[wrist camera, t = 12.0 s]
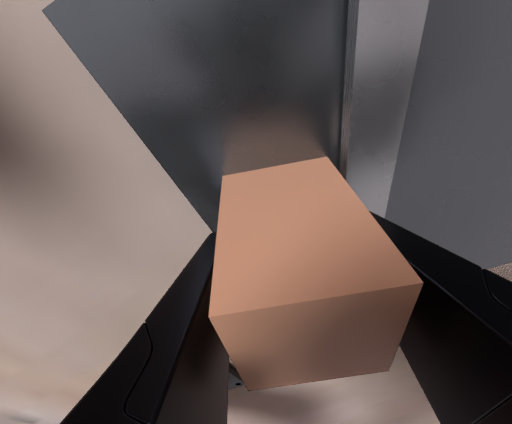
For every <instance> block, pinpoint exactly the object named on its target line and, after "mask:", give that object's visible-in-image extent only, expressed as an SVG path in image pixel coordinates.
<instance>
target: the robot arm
mask: <svg viewBox="0 0 512 424" xmlns="http://www.w3.org/2000/svg"><path fill="white" fill-rule="evenodd" d="M368 211H369V210H368ZM369 212H370V213H371V215H372V216H373V217H374V219H375V220H376V221H377V222H378V224H379V225H380V226H381V228H382V229H383V230H384V232H385V233H386V234H387V236H388V237H389V238H390V239H391V241H392V242H393V243H394V245H395V246H396V247H397V249H398V250H399V251H400V253H401V254H402V255H403V256H404V258H405V259H406V260H407V262H408V263H409V264H410V266H411V267H412V268H413V270H414V271H415V272H416V274H417V275H418V276H419V277H420V279H421V280H422V281H423V286H422V288H421V291H420V293H419V296H418V298H417V301H416V303H415V306H414V308H413V311H412V313H411V316H410V318H409V321H408V324H407V326H406V329H405V331H404V334H403V336H402V339H401V341H400V344H399V345H400V347H401V349H402V351H403V353H404V355H405V357H406V359H407V361H408V363H409V364H410V366H411V368H412V370H413V372H414V374H415V376H416V378H417V380H418V382H419V384H420V385H421V387H422V389H423V391H424V393H425V395H426V397H427V399H428V401H429V403H430V404H431V406H432V408H433V410H434V412H435V414H436V416H437V418H438V420H439V422H440V424H512V282H511V281H509V280H507V279H505V278H503V277H501V276H499V275H497V274H495V273H493V272H491V271H489V270H487V269H482V267H480V266H479V265H477V264H475V263H473V262H471V261H469V260H467V259H465V258H463V257H461V256H459V255H457V254H455V253H453V252H451V251H449V250H447V249H445V248H443V247H441V246H439V245H437V244H435V243H433V242H431V241H429V240H427V239H425V238H423V237H421V236H419V235H417V234H415V233H413V232H411V231H409V230H407V229H405V228H403V227H401V226H399V225H397V224H395V223H393V222H391V221H389V220H387V219H385V218H383V217H381V216H379V215H377V214H375V213H373V212H371V211H369ZM216 236H217V232H214V233H211V234H210V235H209V236H208V237H207V239H206V240H205V241H204V243H203V244H202V245H201V247H200V248H199V249H198V251H197V252H196V253H195V255H194V256H193V257H192V259H191V260H190V261H189V263H188V264H187V265H186V267H185V268H184V269H183V271H182V272H181V273H180V275H179V276H178V277H177V279H176V280H175V281H174V283H173V284H172V285H171V287H170V288H169V289H168V291H167V292H166V293H165V295H164V296H163V297H162V299H161V300H160V301H159V303H158V304H157V305H156V307H155V308H154V309H153V311H152V312H151V313H150V315H149V316H148V317H147V319H146V320H145V322H146V323H143V324H142V325H141V327H140V328H139V329H138V331H137V332H136V333H135V335H134V336H133V337H132V338H131V340H130V341H129V342H128V344H127V345H126V346H125V347H124V349H123V350H122V351H121V353H120V354H119V355H118V356H117V358H116V359H115V360H114V361H113V362H112V363H111V365H110V366H109V367H108V368H107V369H106V371H105V372H104V373H103V374H102V375H101V377H100V378H99V379H98V380H97V381H96V382H95V384H94V385H93V386H92V387H91V388H90V389H89V390H88V392H87V393H86V394H85V395H84V396H83V397H82V399H81V400H80V401H79V402H78V403H77V404H76V405H75V407H74V408H73V409H72V410H71V411H70V412H69V414H68V415H67V416H66V417H65V418H64V419H63V420H62V422H61V423H60V424H227V407H228V389H232V388H236V387H240V386H243V385H244V382H243V380H242V379H241V377H240V375H239V373H237V372H236V371H235V370H233V369H232V368H231V367H229V354H228V353H227V351H226V349H225V347H224V345H223V343H222V341H221V339H220V338H219V336H218V334H217V332H216V330H215V328H214V326H213V325H212V323H211V321H210V319H209V317H208V316H209V306H210V296H211V286H212V276H213V266H214V256H215V246H216Z"/></svg>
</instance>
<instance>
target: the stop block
mask: <svg viewBox="0 0 512 424" xmlns="http://www.w3.org/2000/svg"><path fill="white" fill-rule="evenodd" d="M422 286H423V281H422V280H421V279H420V277H419V276H418V275H417V274H416V272H415V271H414V270H413V268H412V267H411V266H410V264H409V263H408V262H407V260H406V259H405V258H404V256H403V255H402V254H401V253H400V251H399V250H398V249H397V247H396V246H395V245H394V243H393V242H392V241H391V239H390V238H389V237H388V236H387V234H386V233H385V232H384V230H383V229H382V228H381V226H380V225H379V224H378V222H377V221H376V220H375V219H374V217H373V216H372V215H371V213H370V212H369V211H368V209H367V208H366V207H365V205H364V204H363V203H362V201H361V200H360V199H359V198H358V196H357V195H356V194H355V192H354V191H353V190H352V188H351V187H350V186H349V184H348V183H347V182H346V181H345V179H344V178H343V177H342V175H341V174H340V173H339V171H338V170H337V169H336V167H335V166H334V165H333V164H332V162H331V161H330V160H329V158H328V157H321V158H316V159H311V160H305V161H300V162H295V163H289V164H284V165H279V166H273V167H268V168H263V169H257V170H252V171H247V172H241V173H236V174H230V175H225V176H222V186H221V196H220V206H219V216H218V226H217V236H216V246H215V256H214V266H213V276H212V286H211V296H210V306H209V316H208V317H209V319H210V321H211V323H212V325H213V326H214V328H215V330H216V332H217V334H218V336H219V338H220V339H221V341H222V343H223V345H224V347H225V349H226V351H227V353H228V354H229V356H230V358H231V360H232V362H233V364H234V366H235V367H236V369H237V371H238V373H239V375H240V377H241V379H242V380H243V382H244V384H245V386H246V388H247V390H248V391H252V390H259V389H266V388H273V387H280V386H287V385H294V384H301V383H308V382H315V381H322V380H329V379H336V378H343V377H350V376H357V375H364V374H371V373H378V372H385V371H389V369H390V367H391V364H392V362H393V359H394V357H395V354H396V351H397V349H398V346H399V344H400V341H401V339H402V336H403V334H404V331H405V329H406V326H407V324H408V321H409V318H410V316H411V313H412V311H413V308H414V306H415V303H416V301H417V298H418V296H419V293H420V291H421V288H422Z"/></svg>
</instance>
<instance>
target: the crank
mask: <svg viewBox="0 0 512 424" xmlns="http://www.w3.org/2000/svg"><path fill="white" fill-rule="evenodd" d="M428 4H429V0H349V3H348V21H347V39H346V58H345V76H344V94H343V112H342V131H341V149H340V167H339V173H340V174H341V175H342V177H343V178H344V179H345V181H346V182H347V183H348V184H349V186H350V187H351V188H352V190H353V191H354V192H355V194H356V195H357V196H358V198H359V199H360V200H361V201H362V203H363V204H364V205H365V207H366V208H367V209H368V210H369V211H371V212H373V213H375V214H377V215H379V216H381V217H383V218H385V213H386V208H387V203H388V199H389V194H390V189H391V184H392V179H393V174H394V169H395V165H396V160H397V155H398V150H399V145H400V140H401V135H402V131H403V126H404V121H405V116H406V111H407V106H408V101H409V97H410V92H411V87H412V82H413V77H414V72H415V67H416V63H417V58H418V53H419V48H420V43H421V38H422V33H423V29H424V24H425V19H426V14H427V9H428Z"/></svg>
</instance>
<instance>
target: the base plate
mask: <svg viewBox="0 0 512 424" xmlns="http://www.w3.org/2000/svg"><path fill="white" fill-rule="evenodd" d="M348 3H349V0H55V1H54V2H52V3H51V4H50V5H48V6H47V7H46V8H44V9H43V10H42V12H43V13H44V14H45V16H46V17H47V18H48V19H49V21H50V22H51V23H52V25H53V26H54V27H55V28H56V30H57V31H58V32H59V34H60V35H61V36H62V38H63V39H64V40H65V41H66V43H67V44H68V45H69V47H70V48H71V49H72V50H73V52H74V53H75V54H76V56H77V57H78V58H79V60H80V61H81V62H82V63H83V65H84V66H85V67H86V69H87V70H88V71H89V73H90V74H91V75H92V76H93V78H94V79H95V80H96V82H97V83H98V84H99V85H100V87H101V88H102V89H103V91H104V92H105V93H106V95H107V96H108V97H109V98H110V100H111V101H112V102H113V104H114V105H115V106H116V107H117V109H118V110H119V111H120V113H121V114H122V115H123V117H124V118H125V119H126V120H127V122H128V123H129V124H130V126H131V127H132V128H133V129H134V131H135V132H136V133H137V135H138V136H139V137H140V139H141V140H142V141H143V142H144V144H145V145H146V146H147V148H148V149H149V150H150V151H151V153H152V154H153V155H154V157H155V158H156V159H157V161H158V162H159V163H160V164H161V166H162V167H163V168H164V170H165V171H166V172H167V174H168V175H169V176H170V177H171V179H172V180H173V181H174V183H175V184H176V185H177V186H178V188H179V189H180V190H181V192H182V193H183V194H184V196H185V197H186V198H187V199H188V201H189V202H190V203H191V205H192V206H193V207H194V208H195V210H196V211H197V212H198V214H199V215H200V216H201V218H202V219H203V220H204V221H205V223H206V224H207V225H208V227H209V228H210V229H211V230H212V232H213V233H214V232H217V226H218V216H219V206H220V196H221V186H222V176H225V175H230V174H236V173H241V172H247V171H252V170H257V169H263V168H268V167H273V166H279V165H284V164H289V163H295V162H300V161H305V160H311V159H316V158H321V157H328V158H329V160H330V161H331V162H332V164H333V165H334V166H335V167H336V169H337V170H338V171H339V167H340V149H341V131H342V112H343V94H344V76H345V58H346V39H347V21H348ZM385 219H387V220H389V221H391V222H393V223H395V224H397V225H399V226H401V227H403V228H405V229H407V230H409V231H411V232H413V233H415V234H417V235H419V236H421V237H423V238H425V239H427V240H429V241H431V242H433V243H435V244H437V245H439V246H441V247H443V248H445V249H447V250H449V251H451V252H453V253H455V254H457V255H459V256H461V257H463V258H465V259H467V260H469V261H471V262H473V263H475V264H477V265H479V266H480V267H482V269H489V268H493V267H496V266H499V265H503V264H506V263H509V262H512V0H429V4H428V9H427V14H426V19H425V24H424V29H423V33H422V38H421V43H420V48H419V53H418V58H417V63H416V67H415V72H414V77H413V82H412V87H411V92H410V97H409V101H408V106H407V111H406V116H405V121H404V126H403V131H402V135H401V140H400V145H399V150H398V155H397V160H396V165H395V169H394V174H393V179H392V184H391V189H390V194H389V199H388V203H387V208H386V213H385Z"/></svg>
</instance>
